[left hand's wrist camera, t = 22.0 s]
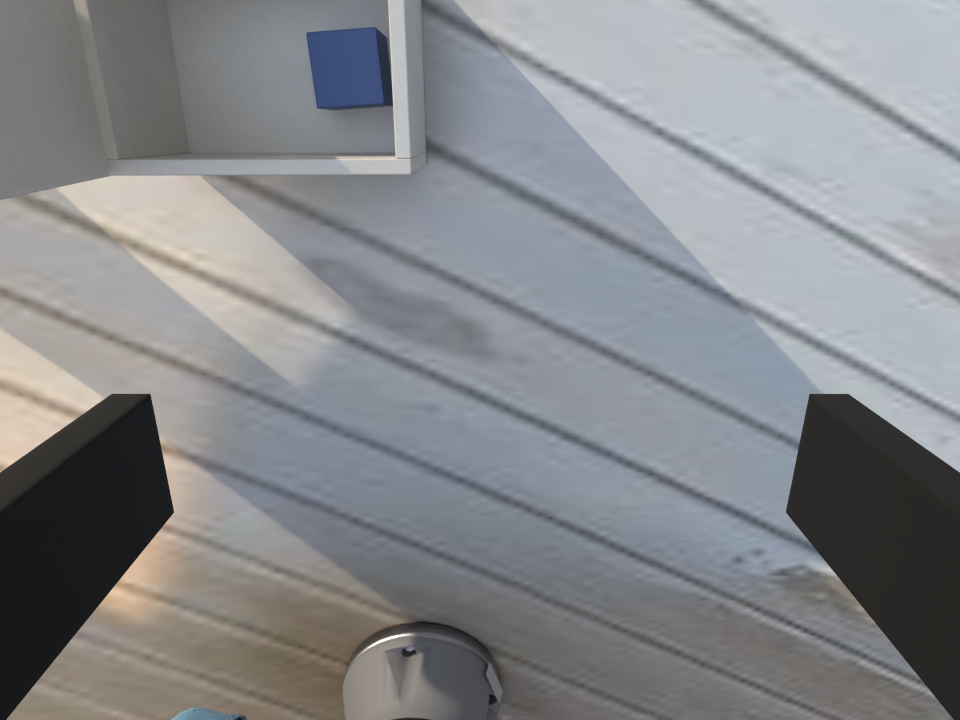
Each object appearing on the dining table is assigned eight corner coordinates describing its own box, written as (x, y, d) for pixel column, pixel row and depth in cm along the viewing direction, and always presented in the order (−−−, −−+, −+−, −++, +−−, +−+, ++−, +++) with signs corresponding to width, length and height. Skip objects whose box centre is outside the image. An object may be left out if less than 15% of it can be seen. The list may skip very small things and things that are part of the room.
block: (386, 36, 40) (376, 26, 36) (393, 106, 41) (384, 104, 38) (322, 41, 40) (305, 32, 36) (332, 110, 42) (316, 108, 38)
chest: (420, -36, 39) (401, -86, 30) (426, 164, 44) (411, 174, 34) (152, -35, 39) (51, -85, 30) (185, 165, 44) (106, 175, 34)
